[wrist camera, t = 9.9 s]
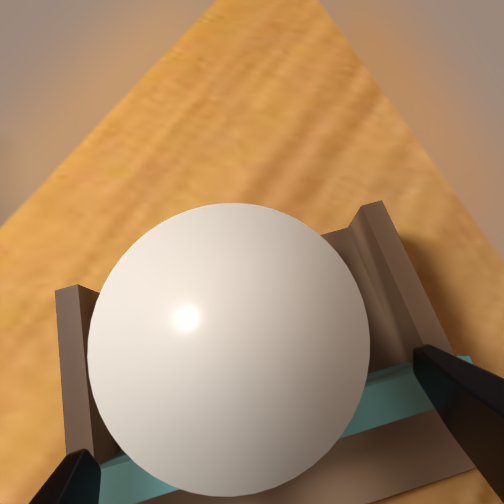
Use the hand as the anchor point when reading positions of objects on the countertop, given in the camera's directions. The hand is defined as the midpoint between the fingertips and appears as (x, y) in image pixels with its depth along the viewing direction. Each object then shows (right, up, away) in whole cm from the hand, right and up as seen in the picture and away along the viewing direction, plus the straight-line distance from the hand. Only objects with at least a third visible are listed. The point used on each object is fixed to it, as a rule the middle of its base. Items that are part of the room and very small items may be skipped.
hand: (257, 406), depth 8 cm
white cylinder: (0, -2, +9) cm, 10 cm away
